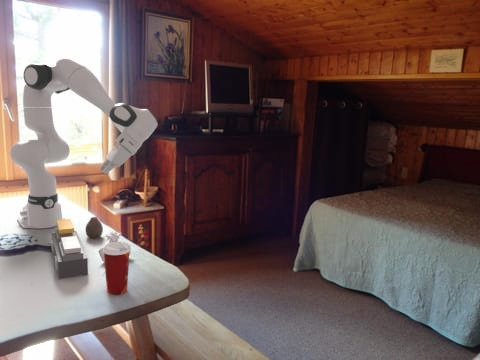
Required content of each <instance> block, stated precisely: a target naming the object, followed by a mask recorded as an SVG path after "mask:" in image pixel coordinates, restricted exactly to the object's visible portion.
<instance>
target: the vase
mask: <svg viewBox="0 0 480 360" xmlns="http://www.w3.org/2000/svg"><path fill="white" fill-rule="evenodd" d="M103 232H104V229H103V224H102V223H101V221H100V220H99V218H98V217H96V216H93V217H90V220H89V221H88V222H87V224H86V226H85V234H86V236H87V238H89V239H90V240H96V239H99V238H101V237H102V235H103Z"/></svg>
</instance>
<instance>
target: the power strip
mask: <svg viewBox="0 0 480 360" xmlns="http://www.w3.org/2000/svg"><path fill="white" fill-rule="evenodd" d="M50 234H51V235H50V236H51V240H50V243H51V252H52V255H53V258H54V267H55V271H56V272H57V278H58V279H59V280H61V279H62V280H63V279H69V278H76V277H82V276H87V275H89V262H88V260H89V259H88V255H87V253H86V252H85V249H84V248H85V247H84V246H83V244H82V241H81V239H80V236H79V234H78V232H77V230H74V233H64V234H59V230H58V227H54V232H52V233H50ZM71 236H76V237H77V239H78V242H79V244H80V247H81V252H77V253H69V254H65V253H64V250H63V247H62V243H61V238H62V237H71Z"/></svg>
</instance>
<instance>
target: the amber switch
mask: <svg viewBox="0 0 480 360" xmlns="http://www.w3.org/2000/svg"><path fill="white" fill-rule="evenodd" d="M56 228H58V230H59V234H64V233H74V231H75V227H74V224H73V222H72V219H71V218H70V219H69V218H68V219H67V218H65V220H57V226H56Z"/></svg>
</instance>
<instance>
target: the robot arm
mask: <svg viewBox="0 0 480 360" xmlns="http://www.w3.org/2000/svg"><path fill="white" fill-rule="evenodd" d="M23 80H24V83H25V85H24V86H23V93H22V94H23V95H22V105H23V107H22V108H23V118H24V119H23V120H24V124H25V126H26V127H27V129H29V130H31V131H33V132H34V134H35V135H36V137H37V139H27V140H21V141H18V142H14V143H13V144H12V146H11V148H10V151H9V153H10V158H11V160H12V161H13V163H15V165H17V166H19V167H20V168H21V169H22V170H23V171H24V173H25V174H26V177H27V182H28V191H29V192H28V193H29V194H28V197H27V203H26V204H25V205H24V206H23V207H22V210H20V211H19V215H20V216H18V217H17V219H16V220H17V222H18V223H19V225H20V226H21V228H22V229H39V230H40V229H49V228H56V227H57V220H66V218H64V217H63V213H62V212H63V211H62V205H61V204H60V203H59V202H58V200H59V199H58V198H59V194H58V193H57V178H56V176H55V175H54V174H53V173H51V172H49V171H47V170H46V165H45V164H54V163H58V162H62V161H65V160H66V159H68V157H69V155H70V147H69V144H68V142H67V141H65V140H64V139H63V138H62V137H61V136H60V135H59V134H58V131H57V129H56V127H55V124H54V117H53V107H52V95H53V94H54V93H55V94H57V95H59V94H60V93H63V92H66V91H69V90H70V91H72V92H73V93H75V94H76V95H77V96H79V97H81V98H82V99H83V100H86V101H87V102H88V103H90V104H91V105H94V106H95V107H96V108H98V109H99V110H101V112H103V113H104V114H105V115H106V116H107V117H108V118H110V120H111V123H113V125H114V126H115V127H116V128H117V129H118V131H119V133H120V135H118V137H116V138H115V139H114V142H115V143H116V144H115V145H114V146H113V148H112V149H111V150H110V151H109V152H108V153H107V154H106V155H105V157H104V159H105V161H104V162H103V164H102V165H101V166H100V167H99V170H100V171H101V172H102V173H103V174H105V175H108V174H109V173H110V172H111V171H112V170H113V169H114V168H115V167H116V168H120V167H121V166H122V165H123V164H125V163H126V162H127V160H128V159H129V158H131V156H134V155H136V153H137V152H138V150H139V149H140V148H141V147H142V146H143V143H144V142H145V141H146V140H147V139H149V137H150V136H151V135H152V134H153V133H154V132H155V130H156V129H157V127H158V123H159V122H158V119H157V117H156V116H155V115H154V114H153V112H152V111H150V110H149V109H148V108H139V107H135V106H132V105H130V104H127V103H125V102H118V103H116V102H115V101H114V100H113V99H112V98H111V97H110V96H109V94H108V93H107V91H106V90H105V88H104V86H103V85H102V83H101V82H100V81H99V79H98V78H97V76H96V75H95V74H94V73H93V72H92V71H91V70H90V69H89V68H88V67H86V66H85V65H84V64H82V63H81V62H79V61H78V60H76V59H74V58H72V57H69V56H64V57H61V58H59V60H57V61H56V63H55V64H50V63H40V62H38V63H37V62H35V63H31V64H28V65H27V66H26V67H25V69H24V70H23Z"/></svg>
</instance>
